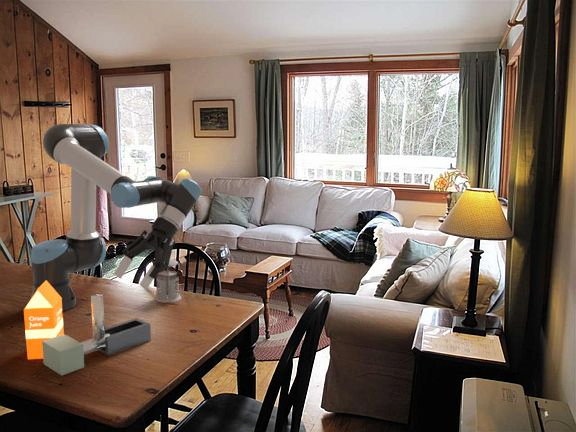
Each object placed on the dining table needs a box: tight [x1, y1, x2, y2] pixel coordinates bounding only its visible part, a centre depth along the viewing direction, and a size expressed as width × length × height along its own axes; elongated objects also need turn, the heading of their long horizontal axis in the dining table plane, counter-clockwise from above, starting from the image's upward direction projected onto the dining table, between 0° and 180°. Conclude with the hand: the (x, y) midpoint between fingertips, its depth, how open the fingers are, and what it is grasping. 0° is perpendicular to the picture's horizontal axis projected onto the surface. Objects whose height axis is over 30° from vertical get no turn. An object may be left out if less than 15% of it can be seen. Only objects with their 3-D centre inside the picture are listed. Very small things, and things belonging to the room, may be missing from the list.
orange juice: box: [23, 280, 65, 360], centre depth 143 cm, size 8×9×20 cm
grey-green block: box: [42, 333, 85, 376], centre depth 136 cm, size 6×10×7 cm, turn 51°
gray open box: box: [98, 317, 152, 357], centre depth 150 cm, size 14×7×5 cm, turn 141°
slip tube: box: [79, 293, 110, 356], centre depth 140 cm, size 14×4×16 cm, turn 141°
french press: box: [154, 258, 182, 304], centre depth 188 cm, size 10×12×25 cm
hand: (129, 281), depth 150 cm, fingers open, 13 cm apart
